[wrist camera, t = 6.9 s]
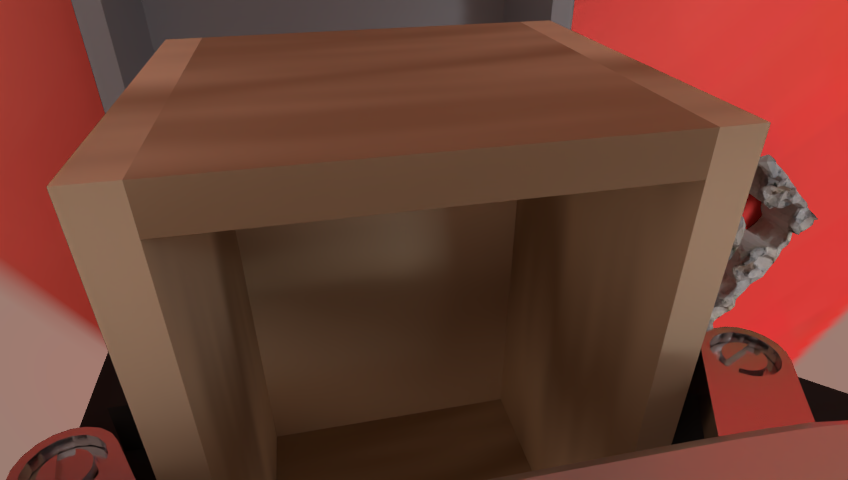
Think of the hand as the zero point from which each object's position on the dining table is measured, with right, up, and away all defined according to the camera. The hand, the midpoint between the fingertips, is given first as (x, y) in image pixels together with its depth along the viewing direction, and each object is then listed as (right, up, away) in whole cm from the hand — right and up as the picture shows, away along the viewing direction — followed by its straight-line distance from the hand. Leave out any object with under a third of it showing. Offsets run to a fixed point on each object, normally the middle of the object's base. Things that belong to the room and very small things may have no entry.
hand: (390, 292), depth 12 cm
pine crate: (0, +1, +1) cm, 1 cm away
